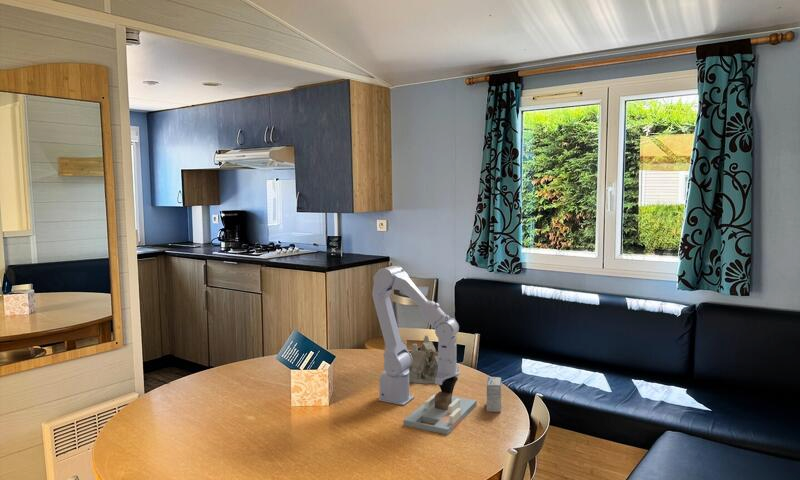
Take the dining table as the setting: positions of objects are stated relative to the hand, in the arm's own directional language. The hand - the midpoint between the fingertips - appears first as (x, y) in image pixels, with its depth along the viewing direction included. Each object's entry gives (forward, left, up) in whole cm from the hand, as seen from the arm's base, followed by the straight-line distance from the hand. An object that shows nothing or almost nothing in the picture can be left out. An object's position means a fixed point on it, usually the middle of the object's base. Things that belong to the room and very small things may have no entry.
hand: (447, 399), depth 176 cm
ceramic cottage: (-17, +23, -3) cm, 29 cm away
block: (0, -3, -1) cm, 4 cm away
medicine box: (+13, +7, -3) cm, 15 cm away
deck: (0, -6, -3) cm, 6 cm away
